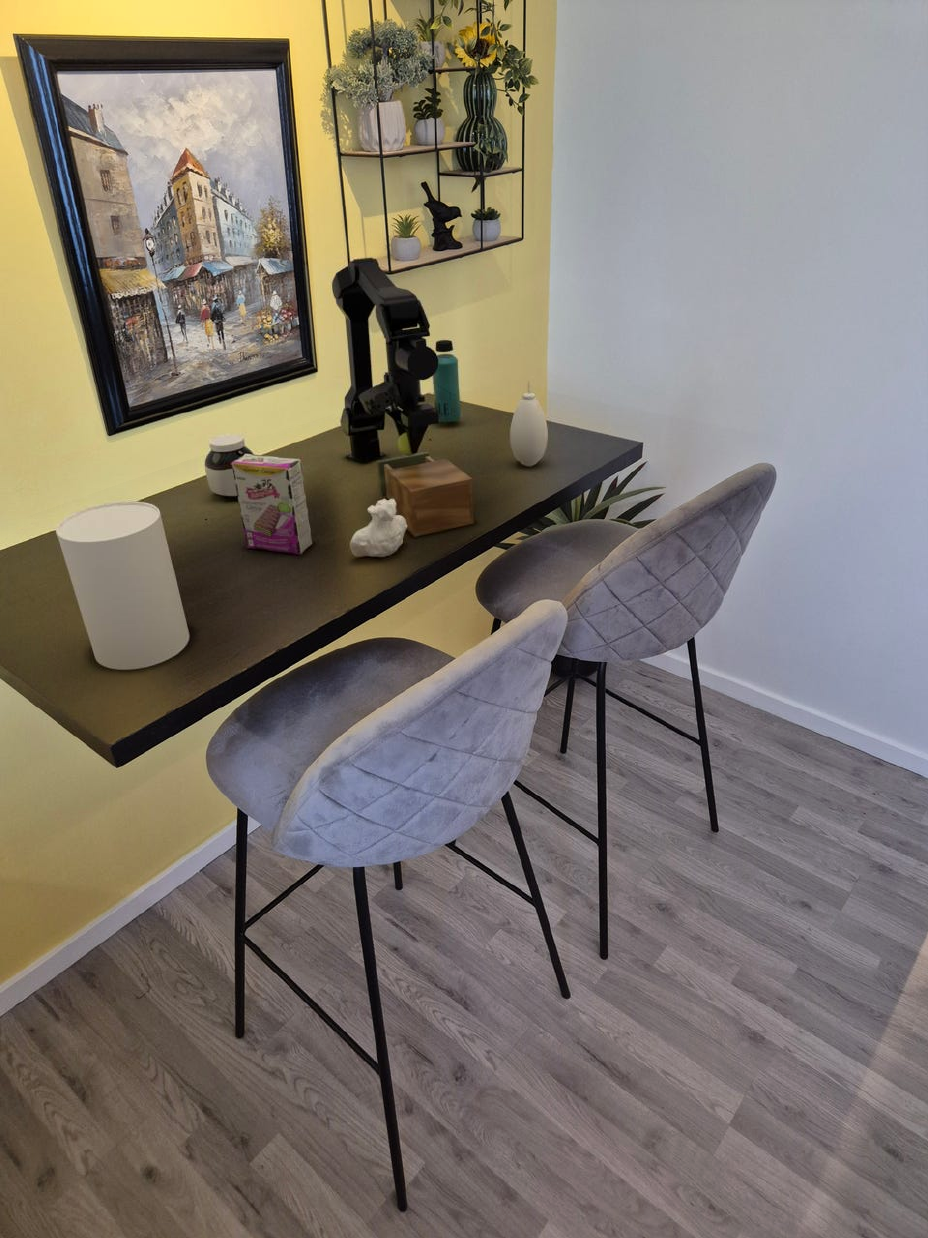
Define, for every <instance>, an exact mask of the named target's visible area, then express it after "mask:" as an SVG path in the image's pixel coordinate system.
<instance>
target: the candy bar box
mask: <svg viewBox="0 0 928 1238" xmlns="http://www.w3.org/2000/svg"><path fill="white" fill-rule="evenodd" d="M231 464H232V469H233V474H234V480H235V485H236V491H237V496H238V500H237V501H238V505H239V511H240V517H241V521H242V527H243V532H244V539H245V543H246V548H248V549H253V550H254V549H255V550H261V551H269V552H275V553H276V552H278V553H285V554H291V555H302V554H304V553H305V552H306V551H307V549H309V548H310V547H311V546H312V545H313V536H312V530H311V524H310V516H309V509H308V503H307V496H306V489H305V482H304V481H305V480H304V475H303V467H302V466H303V465H302V460H301V459H300V458H293V457H292V458H291V457H281V456H273V455H272V456H271V455H261V454H260V455H259V454H254V455H252V454H244V455H243V456H241V457H240V458H238V459H237V460H235V461H233V462H232V463H231Z"/></svg>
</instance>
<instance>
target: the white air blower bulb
mask: <svg viewBox="0 0 928 1238" xmlns="http://www.w3.org/2000/svg"><path fill="white" fill-rule="evenodd" d="M530 385H531V384H530V381H529V380H528V381H527V392H524V393H522V396H521V399H520V401H519V402H518V404H517V406H516V408H515V410H514V413H513V415H512V419H511V424H510V429H509V442H510V448H511V451H512V453H513V456H514V458H515V459H516V461H518V462H520V464H521V465H524V466H526V467H533V466H534V465H536V464H538V463H539V461H541V460H542V459H543V457H544V456H545V453H546V450H547V446H548V440H549V438H548V437H549V430H548V422H547V418H546V415H545V413H544V410H543V408H542V406H541V403H540V402H539V401H538V399H537V398H536V394H535V393H533V392H531V386H530Z"/></svg>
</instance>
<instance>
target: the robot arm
mask: <svg viewBox="0 0 928 1238" xmlns="http://www.w3.org/2000/svg"><path fill="white" fill-rule="evenodd" d="M331 290H332V295H333V298H334V299H335V303H336V306H337V307H338V308H339V310H340V312H342V314H343V316H344V318H345V327H346V343H347V350H348V351H347V353H348V354H347V355H348V364H349V365H348V367H349V377H350V378H349V379H350V387H349V389H348V390H347V392H346V394H345V396H344V408H343V409H342V413H341V417H340V421H339V422H340V426H341V431H342V432H343V433H344V434H345V435H346V436H347V437H349V443H350V452H351V453H348V454H346V455H345V458H346V459H349V460H352V461H355V462H358V463H361V464H366V463H370V462H372V461H375V460H378V459H381V458H384V457H386V453H385V452H381V447H380V445H381V444H380V438H379V432H378V431H384V430H385V424H386V414H387V415H388V416H389V417H390V418H391V419H392V420H393V423H394V425H395V428H396V432H397V434H398V438H399V437H400V436H401V435H402V434H404V433H406V434H407V438H408V443H409V447H410V451H411V453H412V454H415V453H419V451H418V449H419V447H420V448H421V446H420V444H421V445H422V442H423V439H424V437H425V434H426V433H427V431H428V428H429V426H431V425H438V424H440V423H441V421H440V412H439V411H438V410H437V409H436V408H434V405H431V404H430V403H428V402H427V403H425V402H426V396H425V395H424V394H422V391H421V381H426V380H429V379H430V378H433V375H434V374H435V372H436V370H437V368H438V358H437V355H438V354H437V353H436V351H435V350H434V349H433V348H432V347H430V346H428V345H427V339H426V337H427V338H428V337H430V336H431V331H430V327H431V325H430V322H429V319H428V316H427V313H426V311H425V308H424V307H423V304H422V302H421V300H420V299H419V298H418V296H417V295H416V294H415V293H413V292H412V291H411V290H409V289H405V288H401V287H397V286H396V285H395V283H394V282H393V281H392V279H391V278H390V277H389V276H388V275H387V274H386V273H385V272H384V271H383V269H381V267H380V265H379V262H378V259H377V258H373V257H371V256H370V257H361V258H353V259H352V260H350V261H349V263H348V264H347V266H344V267H343V268H342V269H340V270H339V271H337V272H336V273H335V275H334V277H333V279H332V282H331ZM374 309H375V317H376V318H375V319H376V321H377V324H378V326H379V328H380V331H381V332H382V335H383V339H384V340H385V351H386V352H385V353H386V363H387V364H386V365H387V371H386V372H385V371H384V374H383V382H381V383H379V384H376V385H373V384H374V381H373V380H374V379H373V368H372V367H373V366H372V353H371V352H372V350H371V337H370V321H369V319H370V317H371V315H372V313H373V311H374ZM419 403H421V404H419ZM419 450H420V449H419Z"/></svg>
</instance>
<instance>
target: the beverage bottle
mask: <svg viewBox="0 0 928 1238" xmlns="http://www.w3.org/2000/svg"><path fill="white" fill-rule="evenodd" d="M452 351H454V346H453V341H452V340H449V339H441V340H437V341H436V342H435V352H437V353H440V354H436V355H437V358H438V368H437V370H436V372H435V374H434V375H433V376H432V384H433V398H434V399H433V400H434V404H433V407H434V408H436V409H437V410H438V411H439V412H440V423H441V422H443V423H451V422H456V421H459V420H460V419H461V417H462V410H461V408H462V407H461V405H462V404H461V394H460V393H461V392H460V391H461V390H460V378H459V376H460V375H459V359H458V358H457V357H456V356H455V355H454V354H452V353H449V352H452Z"/></svg>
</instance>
